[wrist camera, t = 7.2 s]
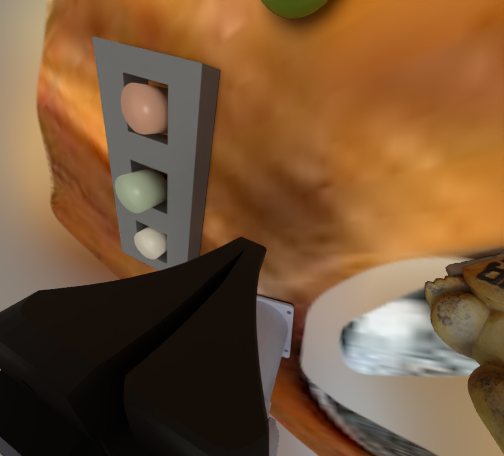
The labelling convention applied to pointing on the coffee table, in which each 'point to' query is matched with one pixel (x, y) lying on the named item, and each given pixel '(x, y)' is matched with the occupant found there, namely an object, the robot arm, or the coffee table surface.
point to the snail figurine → (293, 7)
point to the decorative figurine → (475, 330)
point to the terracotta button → (145, 108)
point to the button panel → (161, 144)
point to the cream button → (151, 242)
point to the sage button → (141, 189)
